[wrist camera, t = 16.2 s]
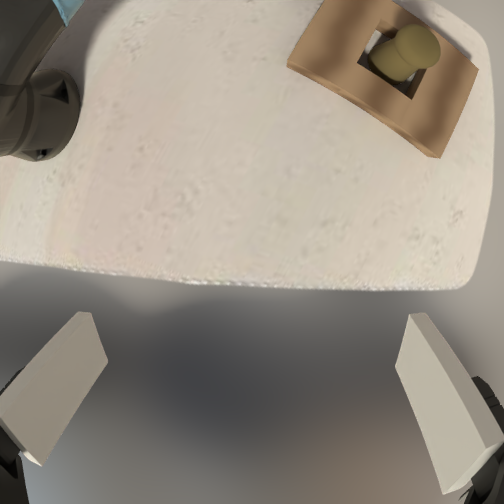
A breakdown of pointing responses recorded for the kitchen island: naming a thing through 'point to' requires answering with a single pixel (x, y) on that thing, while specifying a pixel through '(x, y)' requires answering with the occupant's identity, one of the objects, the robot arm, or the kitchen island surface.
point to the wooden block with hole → (373, 87)
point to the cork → (404, 54)
